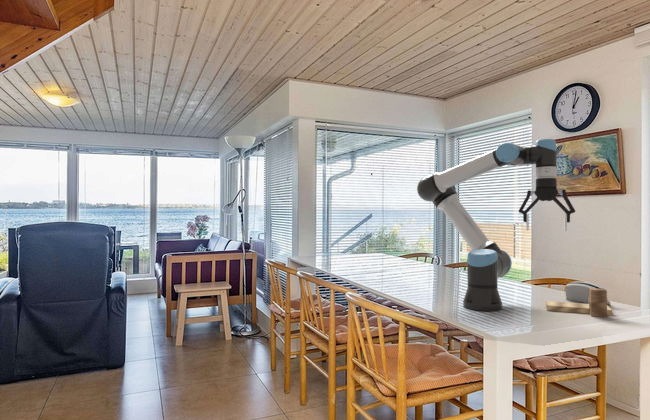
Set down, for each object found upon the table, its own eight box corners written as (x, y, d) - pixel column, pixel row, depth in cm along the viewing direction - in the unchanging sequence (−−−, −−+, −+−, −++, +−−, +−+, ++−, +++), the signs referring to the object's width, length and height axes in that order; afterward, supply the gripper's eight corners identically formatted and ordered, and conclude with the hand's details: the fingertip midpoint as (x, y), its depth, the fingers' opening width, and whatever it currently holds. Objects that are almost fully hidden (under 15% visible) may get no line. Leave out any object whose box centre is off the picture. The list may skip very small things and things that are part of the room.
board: (547, 310, 170) (547, 305, 170) (545, 305, 179) (545, 300, 179) (612, 315, 162) (612, 310, 162) (607, 310, 170) (607, 305, 170)
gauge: (591, 316, 161) (591, 289, 161) (584, 307, 174) (584, 283, 175) (606, 317, 159) (606, 290, 159) (598, 308, 173) (598, 284, 173)
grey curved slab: (611, 305, 179) (606, 283, 178) (605, 310, 177) (600, 288, 175) (572, 298, 194) (567, 277, 192) (566, 302, 192) (561, 282, 190)
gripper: (512, 178, 174) (512, 230, 174) (583, 176, 164) (583, 231, 164) (512, 179, 181) (512, 229, 181) (580, 177, 171) (580, 230, 171)
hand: (546, 230), depth 173 cm, fingers open, 13 cm apart
